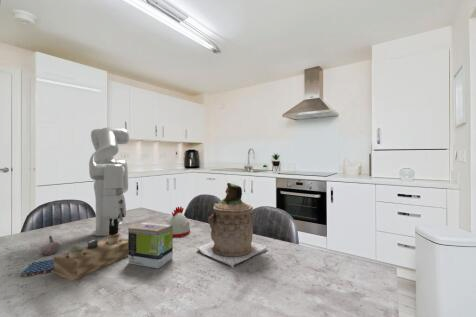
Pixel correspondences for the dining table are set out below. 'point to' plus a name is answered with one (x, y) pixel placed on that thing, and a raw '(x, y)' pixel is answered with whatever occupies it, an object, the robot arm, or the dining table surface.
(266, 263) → the dining table surface
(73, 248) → the knob sage
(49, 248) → the garlic bulb
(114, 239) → the knob terracotta
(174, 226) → the kitchen timer
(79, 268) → the panel
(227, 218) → the cookie jar
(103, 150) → the robot arm
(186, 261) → the dining table surface
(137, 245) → the tea box
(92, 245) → the dial
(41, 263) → the woven mat
